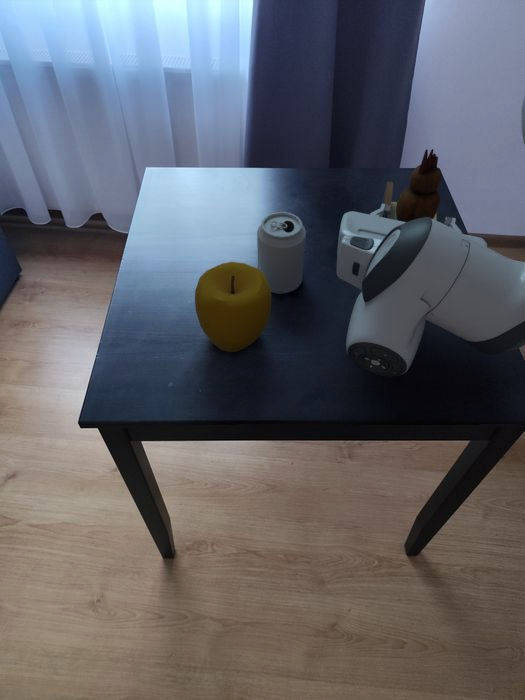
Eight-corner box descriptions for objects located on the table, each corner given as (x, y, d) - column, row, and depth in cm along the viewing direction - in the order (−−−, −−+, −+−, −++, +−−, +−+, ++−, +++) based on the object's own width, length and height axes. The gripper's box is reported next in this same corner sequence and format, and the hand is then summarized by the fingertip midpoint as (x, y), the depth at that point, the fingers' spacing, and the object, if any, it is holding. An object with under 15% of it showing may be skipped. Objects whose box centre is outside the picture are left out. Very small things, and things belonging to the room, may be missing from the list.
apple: (250, 377, 69) (247, 317, 59) (186, 351, 72) (173, 290, 62) (282, 326, 75) (285, 264, 65) (222, 304, 78) (216, 241, 68)
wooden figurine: (401, 239, 83) (423, 158, 71) (387, 219, 86) (406, 139, 75) (436, 232, 84) (464, 151, 72) (421, 213, 87) (445, 133, 76)
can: (302, 297, 79) (307, 239, 69) (257, 296, 79) (256, 238, 69) (301, 266, 83) (305, 208, 74) (258, 266, 84) (257, 207, 74)
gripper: (490, 274, 59) (497, 210, 67) (330, 238, 63) (354, 183, 71) (473, 309, 64) (481, 246, 72) (325, 273, 68) (349, 218, 76)
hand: (417, 214), depth 72 cm, fingers open, 8 cm apart
